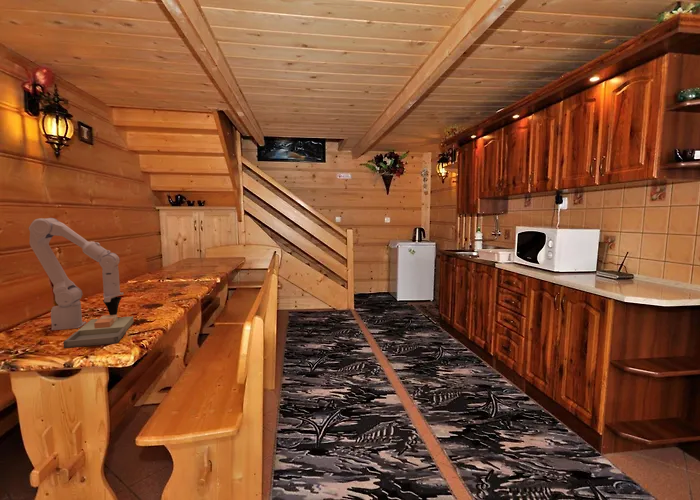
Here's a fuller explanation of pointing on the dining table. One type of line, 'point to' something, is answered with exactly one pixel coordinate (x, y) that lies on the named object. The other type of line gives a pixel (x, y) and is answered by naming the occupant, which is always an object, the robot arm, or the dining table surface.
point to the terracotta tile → (103, 323)
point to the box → (93, 339)
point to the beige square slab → (114, 328)
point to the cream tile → (109, 317)
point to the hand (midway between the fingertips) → (113, 315)
